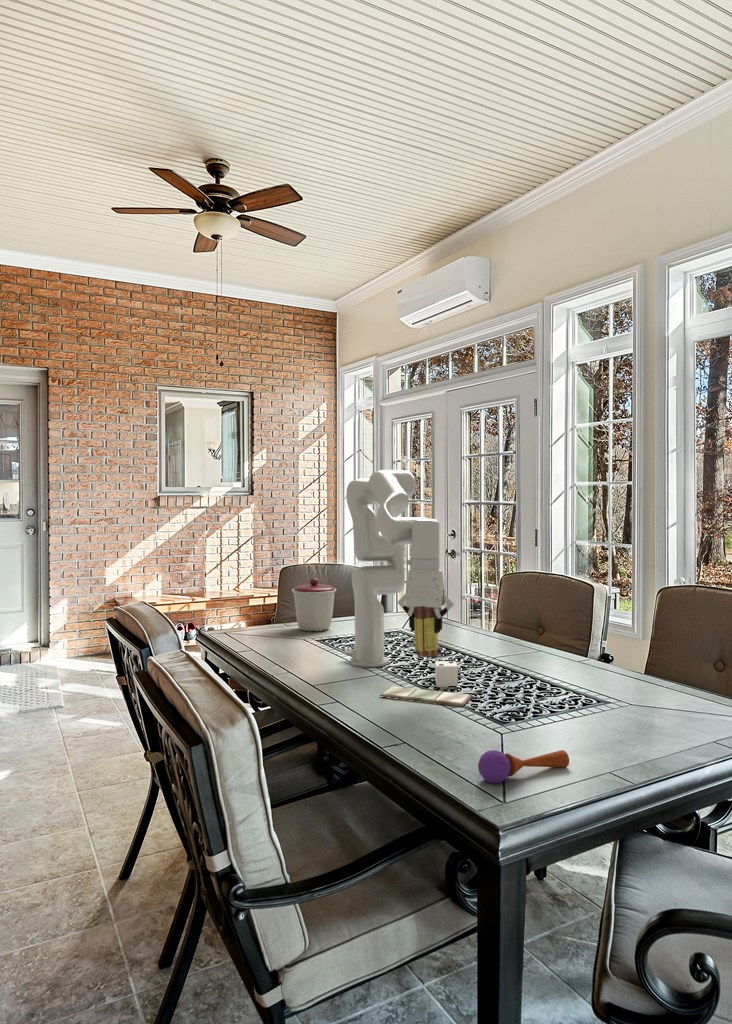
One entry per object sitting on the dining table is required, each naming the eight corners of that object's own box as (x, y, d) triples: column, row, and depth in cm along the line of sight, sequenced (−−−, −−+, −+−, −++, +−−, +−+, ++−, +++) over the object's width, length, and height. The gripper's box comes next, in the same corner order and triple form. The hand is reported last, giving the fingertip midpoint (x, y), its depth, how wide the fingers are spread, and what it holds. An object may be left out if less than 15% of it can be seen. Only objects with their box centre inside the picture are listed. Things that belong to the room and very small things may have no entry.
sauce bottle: (440, 653, 188) (440, 580, 187) (434, 658, 182) (435, 583, 181) (416, 651, 190) (417, 579, 189) (410, 656, 184) (411, 582, 184)
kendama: (576, 752, 136) (493, 761, 127) (570, 780, 137) (487, 791, 128) (556, 737, 141) (475, 745, 133) (551, 764, 142) (470, 774, 134)
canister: (318, 635, 270) (318, 581, 269) (283, 630, 280) (282, 578, 279) (345, 628, 285) (344, 577, 285) (310, 623, 295) (310, 574, 294)
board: (379, 697, 187) (379, 694, 187) (391, 688, 195) (391, 685, 195) (463, 706, 178) (463, 703, 178) (471, 697, 186) (471, 694, 186)
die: (436, 687, 197) (436, 665, 197) (435, 681, 203) (435, 660, 203) (457, 687, 197) (457, 665, 196) (455, 681, 203) (455, 660, 202)
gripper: (390, 565, 185) (390, 631, 186) (453, 567, 179) (453, 636, 179) (399, 562, 192) (400, 627, 193) (460, 564, 186) (460, 631, 186)
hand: (425, 630), depth 186 cm, fingers closed on sauce bottle, 6 cm apart
